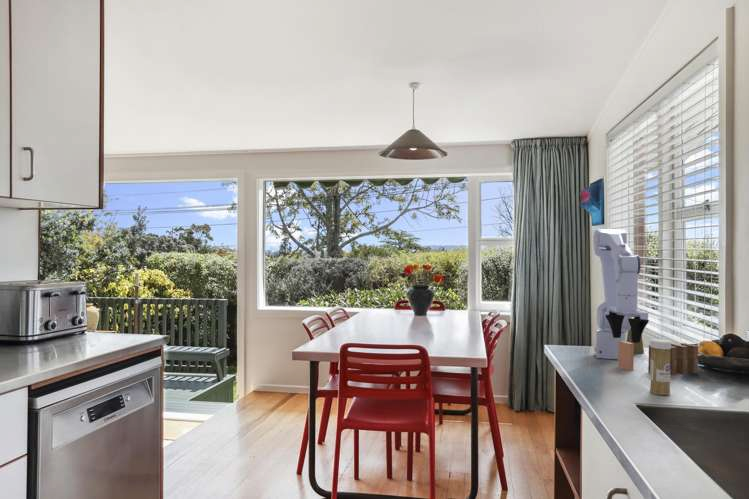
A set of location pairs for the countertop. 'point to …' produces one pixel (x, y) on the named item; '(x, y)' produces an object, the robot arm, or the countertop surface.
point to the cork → (637, 346)
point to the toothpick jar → (660, 366)
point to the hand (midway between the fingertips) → (626, 340)
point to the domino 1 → (626, 355)
